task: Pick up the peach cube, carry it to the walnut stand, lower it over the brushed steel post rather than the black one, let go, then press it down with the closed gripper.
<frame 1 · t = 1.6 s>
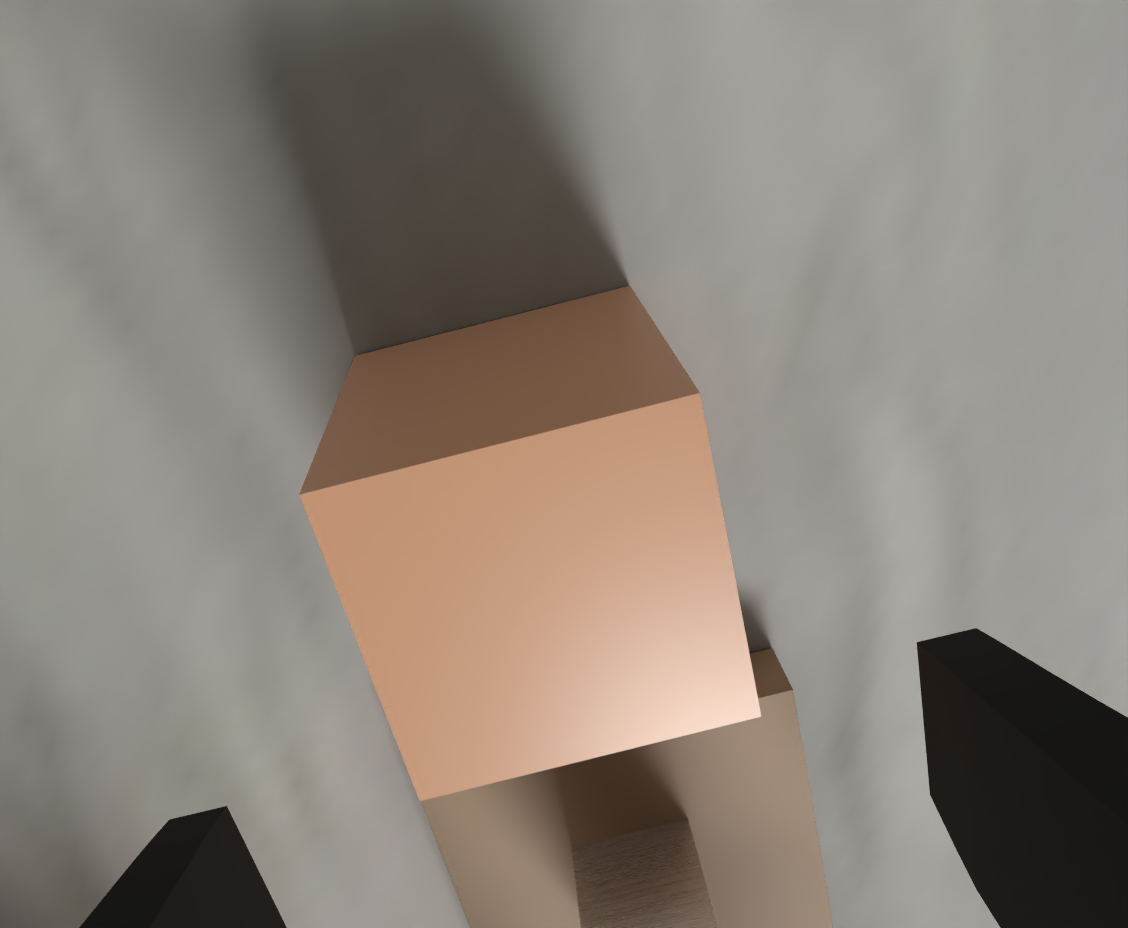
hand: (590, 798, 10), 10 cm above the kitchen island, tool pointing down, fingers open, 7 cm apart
peach cube: (526, 447, 19), on the kitchen island
steel post: (641, 876, 21), resting on stand
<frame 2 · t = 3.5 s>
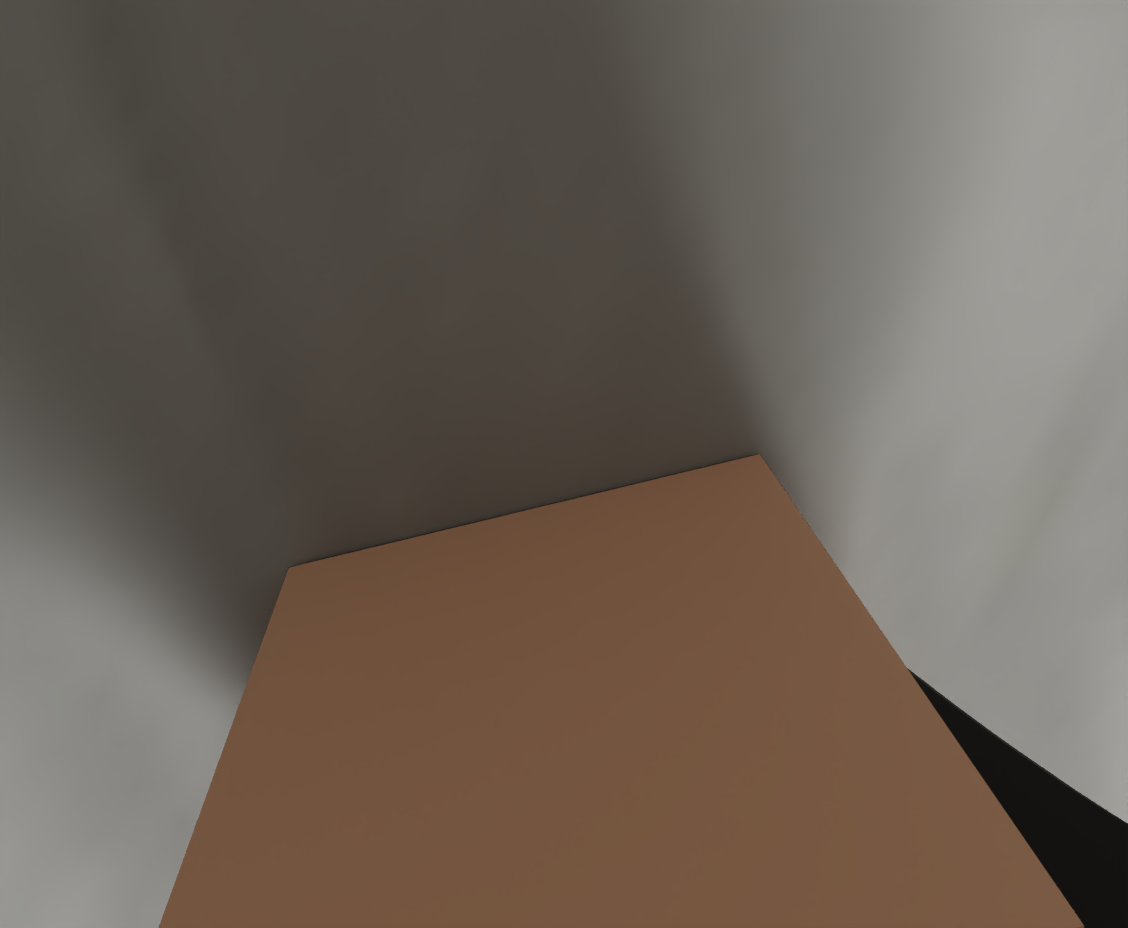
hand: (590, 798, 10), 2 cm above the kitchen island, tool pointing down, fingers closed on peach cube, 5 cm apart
peach cube: (575, 701, 11), on the kitchen island, touching gripper
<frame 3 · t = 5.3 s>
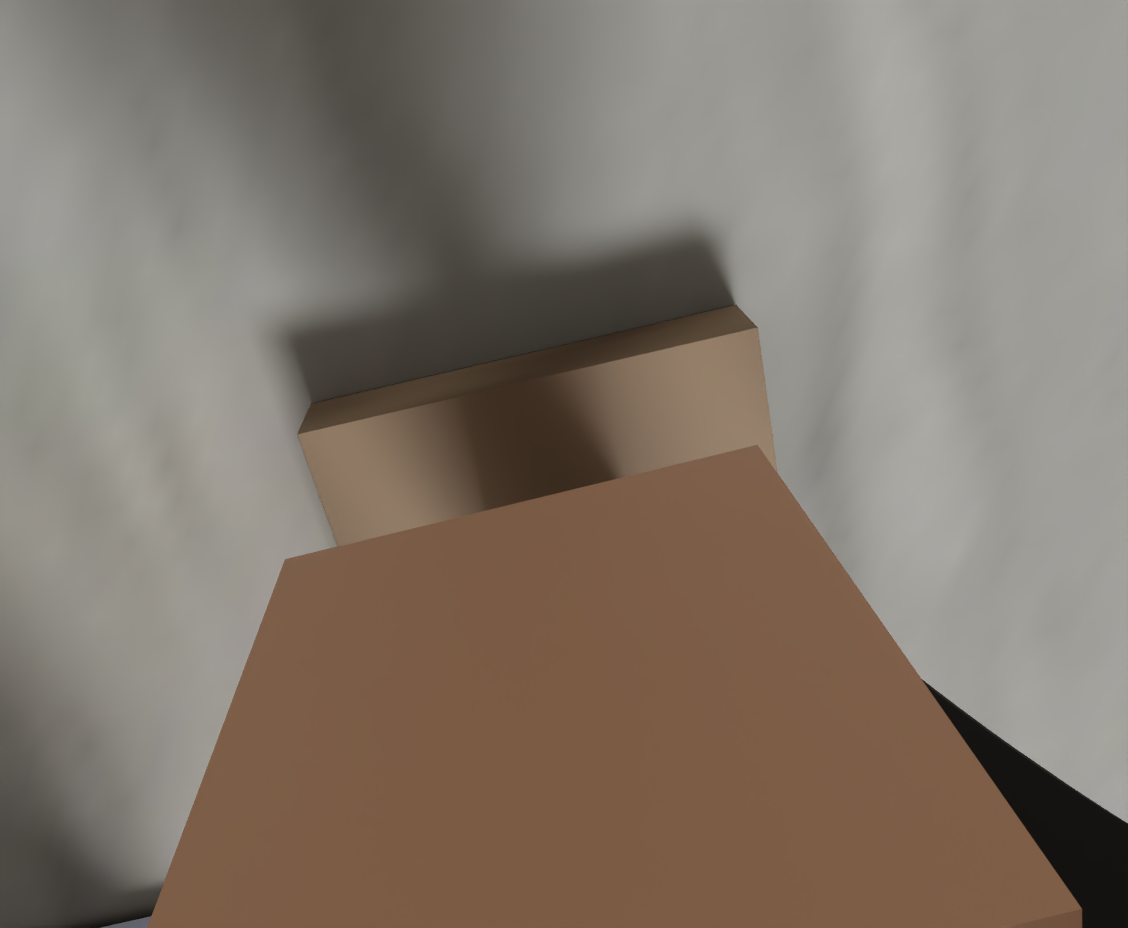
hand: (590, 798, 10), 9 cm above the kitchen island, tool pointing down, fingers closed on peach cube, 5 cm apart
peach cube: (573, 693, 11), point 8 cm above the kitchen island, touching gripper
stand: (615, 733, 21), on the kitchen island
when the fingers open (4 cm above the kitchen island, at t = 7.7 s): peach cube stays where it is, resting on stand.
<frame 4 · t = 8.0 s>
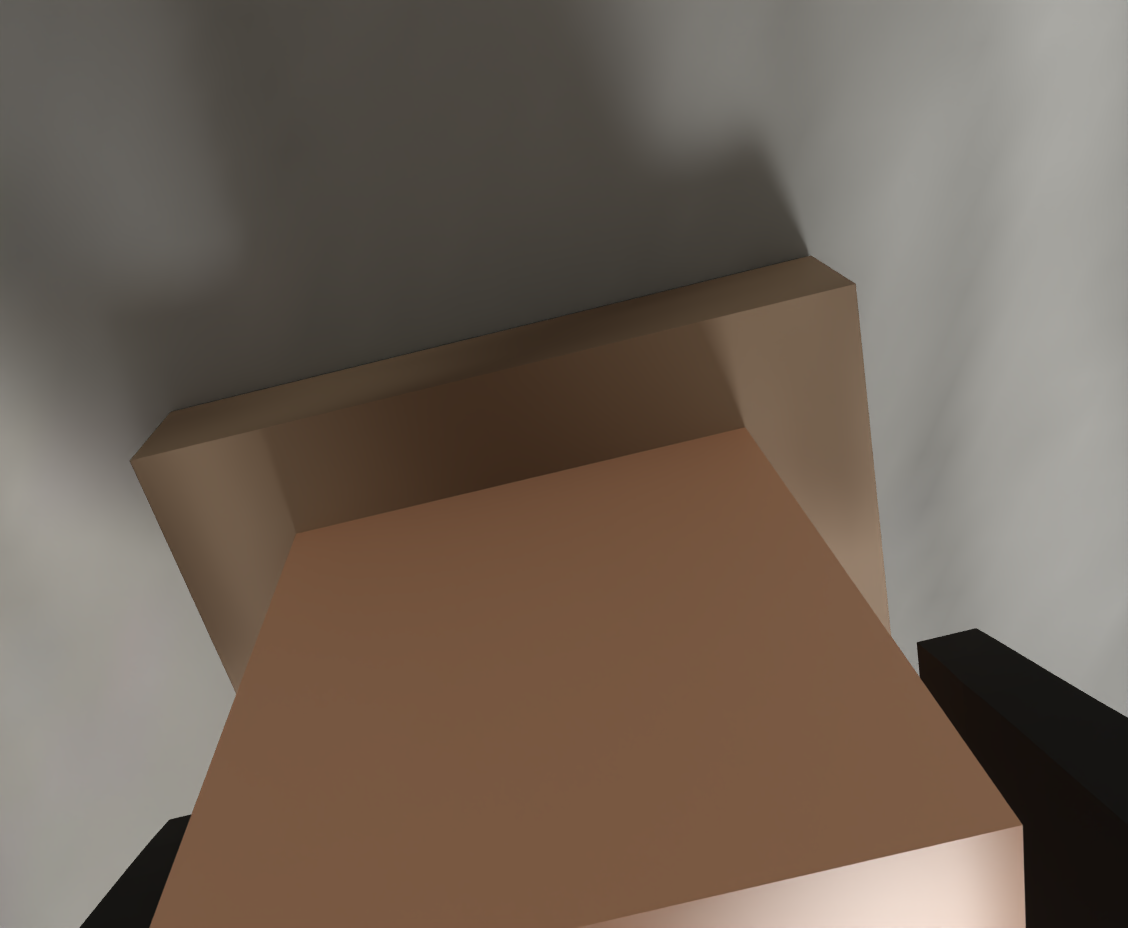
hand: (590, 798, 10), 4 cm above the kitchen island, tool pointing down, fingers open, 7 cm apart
peach cube: (569, 665, 12), point 1 cm above the kitchen island, touching stand
stand: (631, 865, 15), on the kitchen island
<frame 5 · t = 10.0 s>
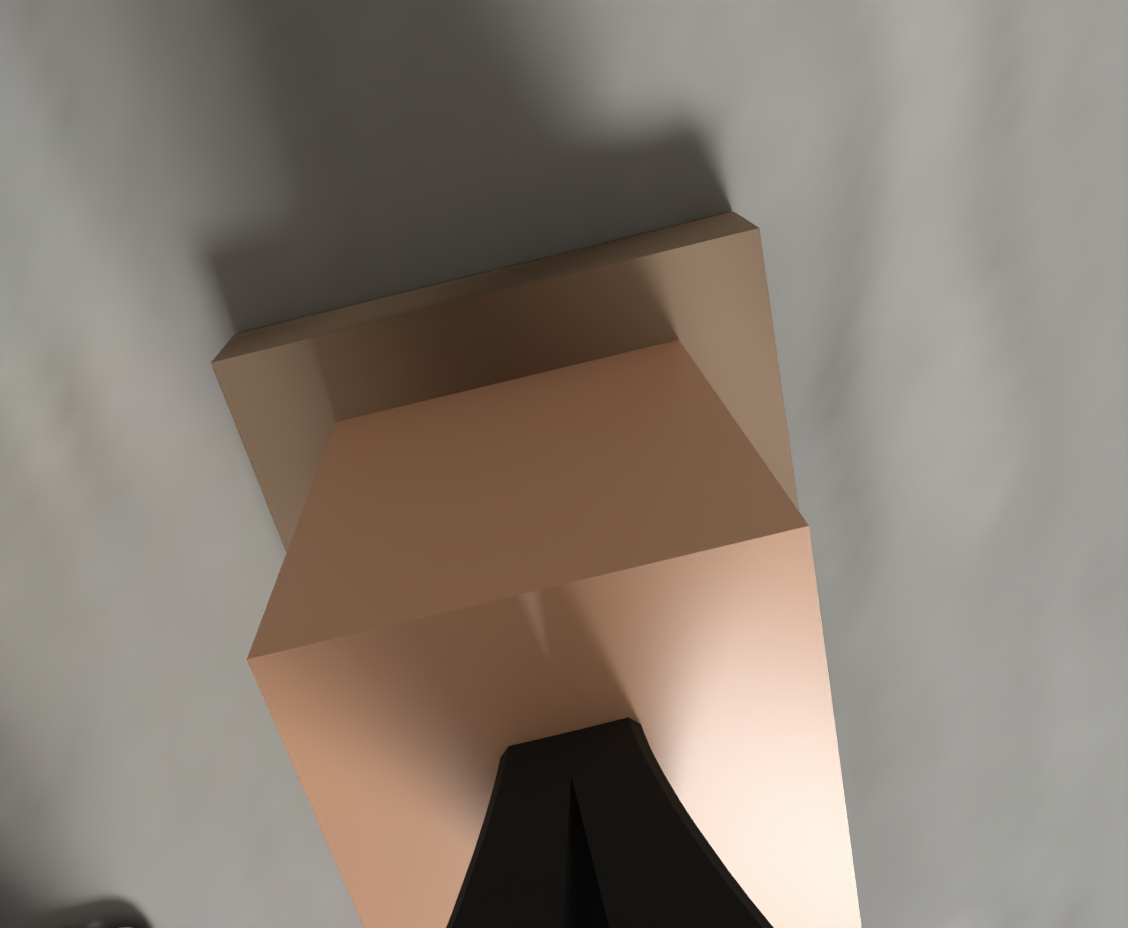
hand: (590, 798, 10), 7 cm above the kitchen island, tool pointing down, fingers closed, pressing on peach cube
peach cube: (546, 532, 15), point 1 cm above the kitchen island, touching gripper, stand
stand: (601, 721, 19), on the kitchen island
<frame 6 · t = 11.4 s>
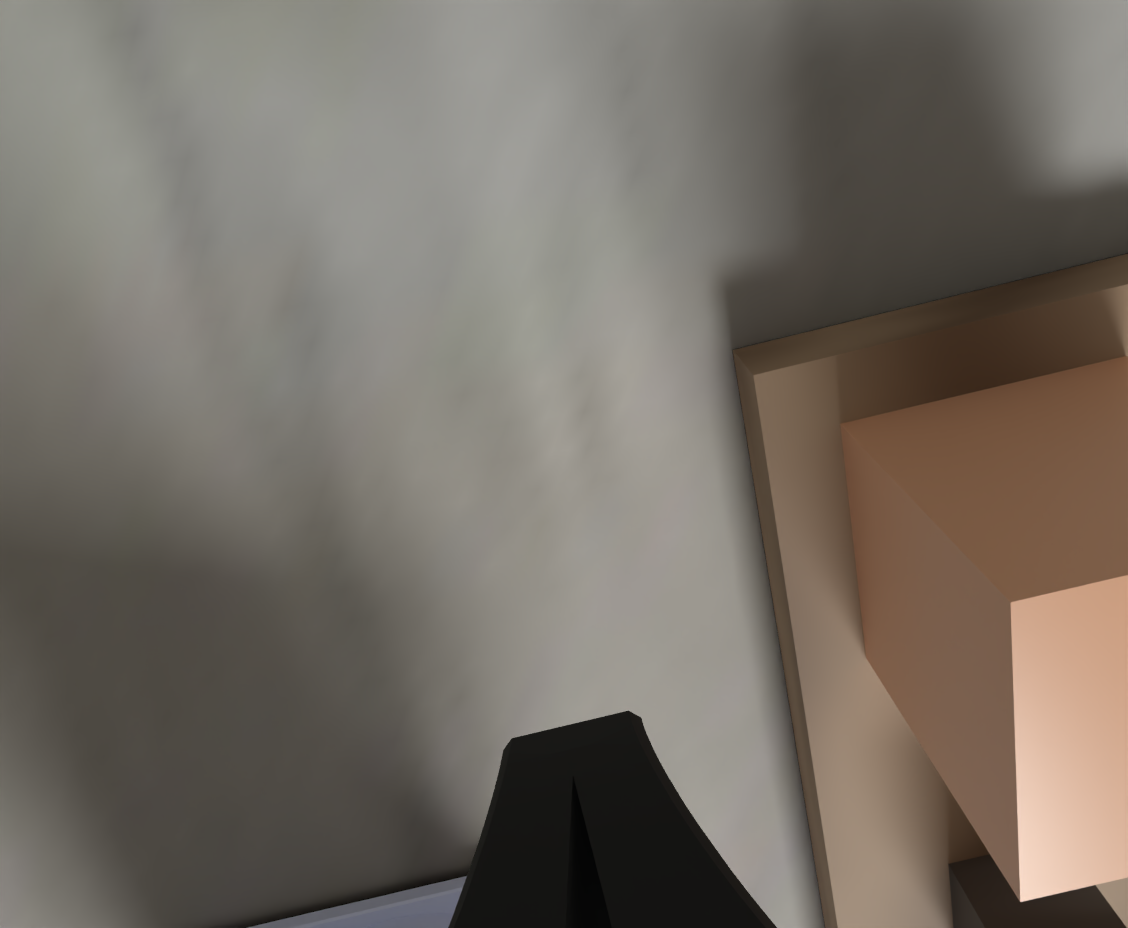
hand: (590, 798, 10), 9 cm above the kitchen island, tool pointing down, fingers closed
peach cube: (988, 516, 18), point 1 cm above the kitchen island, touching stand
stand: (965, 681, 22), on the kitchen island
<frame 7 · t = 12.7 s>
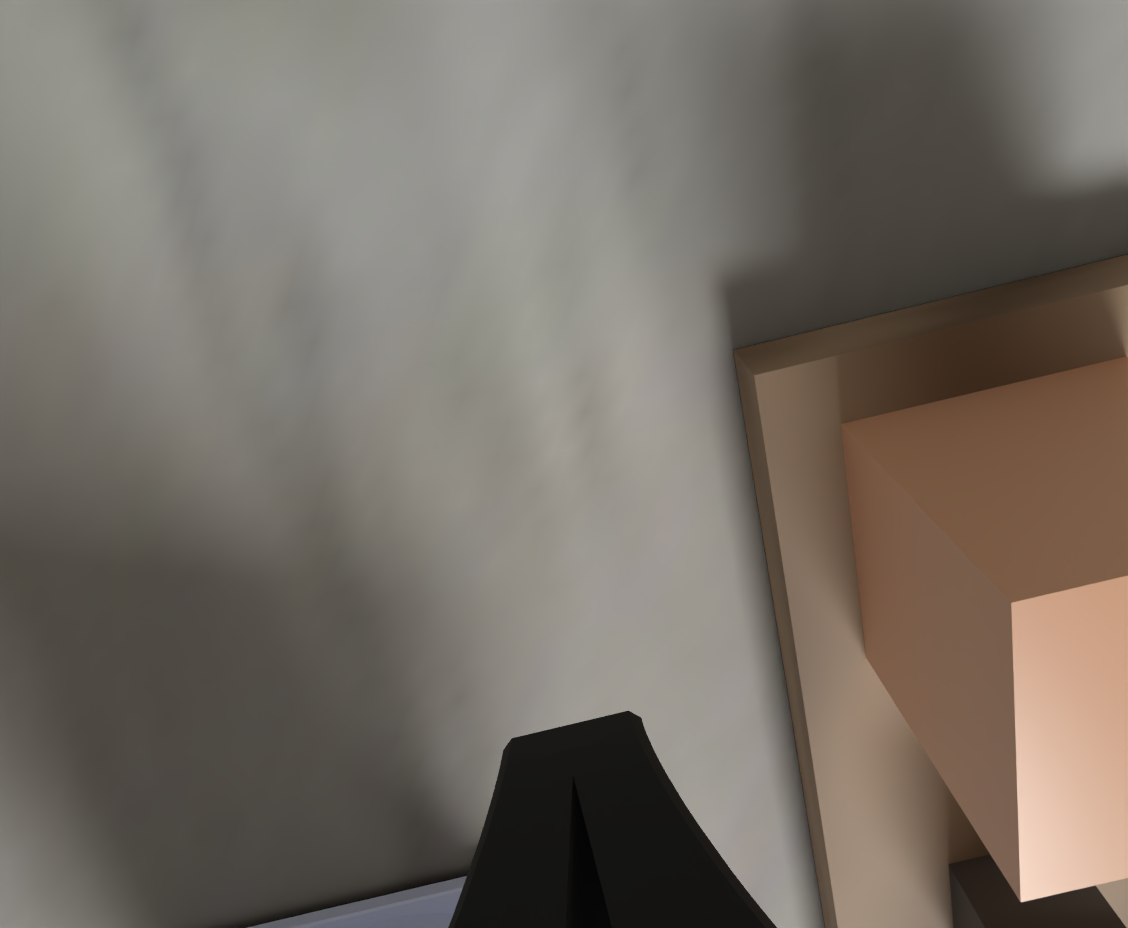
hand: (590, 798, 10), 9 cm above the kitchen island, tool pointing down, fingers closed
peach cube: (988, 516, 18), point 1 cm above the kitchen island, touching stand
stand: (965, 681, 22), on the kitchen island
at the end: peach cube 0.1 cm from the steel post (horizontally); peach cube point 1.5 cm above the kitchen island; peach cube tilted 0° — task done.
